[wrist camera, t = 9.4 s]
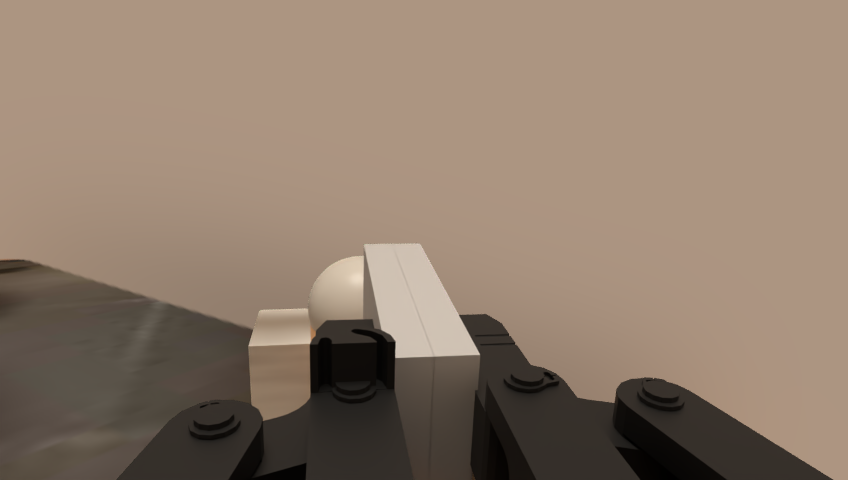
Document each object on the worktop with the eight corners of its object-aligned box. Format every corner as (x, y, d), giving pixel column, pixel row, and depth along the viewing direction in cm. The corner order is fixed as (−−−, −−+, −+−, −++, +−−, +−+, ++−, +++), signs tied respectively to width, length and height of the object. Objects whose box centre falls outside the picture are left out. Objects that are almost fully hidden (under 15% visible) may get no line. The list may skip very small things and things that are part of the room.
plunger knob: (413, 523, 30) (419, 272, 27) (311, 532, 30) (304, 275, 26) (402, 462, 35) (405, 243, 32) (314, 468, 35) (308, 245, 31)
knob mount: (531, 716, 23) (550, 507, 20) (208, 764, 21) (188, 540, 19) (439, 429, 42) (443, 303, 40) (265, 441, 40) (259, 310, 38)
